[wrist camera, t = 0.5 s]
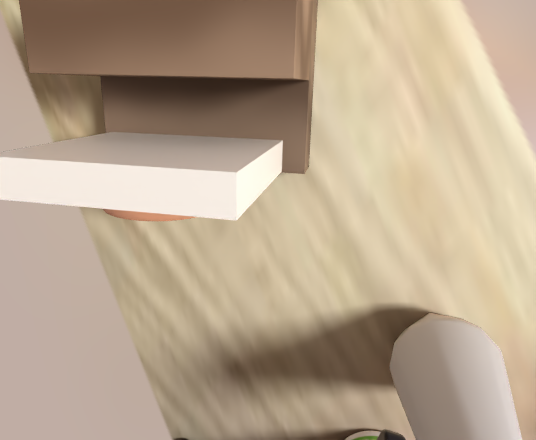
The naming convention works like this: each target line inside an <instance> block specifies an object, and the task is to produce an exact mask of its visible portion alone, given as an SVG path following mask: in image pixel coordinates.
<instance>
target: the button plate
mask: <svg viewBox="0 0 536 440" xmlns="http://www.w3.org/2000/svg"><path fill="white" fill-rule="evenodd" d="M282 149H283V140H265V139H244V138H224V137H204V136H183V135H163V134H143V133H123V132H109V133H103V134H98V135H92V136H87V137H81V138H76V139H70V140H65V141H59V142H53V143H48V144H42V145H37V146H31V147H26V148H20V149H14V150H9V151H3V152H0V200H11V201H23V202H34V203H45V204H46V203H47V204H57V205H68V206H79V207H91V208H102V209H103V210H104V211H105V212H106V213H108V214H110V215H112V216H115V217H119V218H123V219H129V220H139V221H172V220H182V219H189V218H195V217H204V218H215V219H227V220H237V219H238V218H239V217H240V216H241V215H242V214H243V213H244V212H245V211H246V210H247V208H248V207H249V206H250V205H251V204H252V203H253V202H254V201H255V200H256V199H257V198H258V197H259V195H260V194H261V193H262V192H263V191H264V190H265V189H266V188H267V187H268V186H269V185H270V184H271V182H272V181H273V180H274V179H275V178H276V177H277V176H278V175H279V174H280V173H281V172H282Z"/></svg>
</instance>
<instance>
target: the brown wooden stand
mask: <svg viewBox="0 0 536 440" xmlns="http://www.w3.org/2000/svg"><path fill="white" fill-rule="evenodd" d="M19 4H20V10H21V17H22V24H23V31H24V38H25V44H26V51H27V58H28V65H29V72H30V73H44V74H66V75H89V76H100V77H101V88H102V98H103V108H104V119H105V129H106V133H109V132H123V133H143V134H163V135H183V136H204V137H224V138H244V139H265V140H283V149H282V172H285V173H301V174H305V172H306V170H307V169H308V167H309V154H310V135H311V117H312V98H313V80H314V61H315V43H316V24H317V6H318V0H19Z"/></svg>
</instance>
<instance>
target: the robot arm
mask: <svg viewBox="0 0 536 440" xmlns="http://www.w3.org/2000/svg"><path fill="white" fill-rule="evenodd" d="M377 440H406V439H405V438H404V437H403V436H402V435H401V434H399V433H396V432H392V431H389V430H385V429H384V430H382V431H381V433H380V434H379V436H378V438H377Z"/></svg>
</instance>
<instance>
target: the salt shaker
mask: <svg viewBox="0 0 536 440" xmlns="http://www.w3.org/2000/svg"><path fill="white" fill-rule="evenodd" d="M389 368H390V371H391V375H392V378H393V382H394V385H395V388H396V391H397V393H398V396H399V398H400V401H401V403H402V406H403V408H404V411H405V413H406V416H407V418H408V421H409V423H410V426H411V428H412V431H413V433H414V436H415V439H416V440H522V437H521V432H520V428H519V424H518V419H517V415H516V411H515V406H514V402H513V398H512V393H511V389H510V385H509V380H508V376H507V372H506V368H505V364H504V360H503V356H502V352H501V349H500V348H499V347H498V346H497V345H496V344H495V343H494V342H493V340H492V339H491V338H490V337H489V336H488V335H487V334H486V333H485V332H484V331H483V330H482V329H481V327H478V326H476V325H474V324H472V323H470V322H468V321H466V320H463V319H460V318H455V317H449V316H444V315H439V314H434V313H428V314H427V315H425V316H424V317H422V318H421V319H419V320H418V321H416V322H415V323H414V324H412V325H411V326H409V327H408V328H406V329H405V330H404V331H403V332H402V333H401V335H400V336H399V337H398V339H397V340H396V341H395V343H394V347H393V352H392V357H391V361H390V367H389Z"/></svg>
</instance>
